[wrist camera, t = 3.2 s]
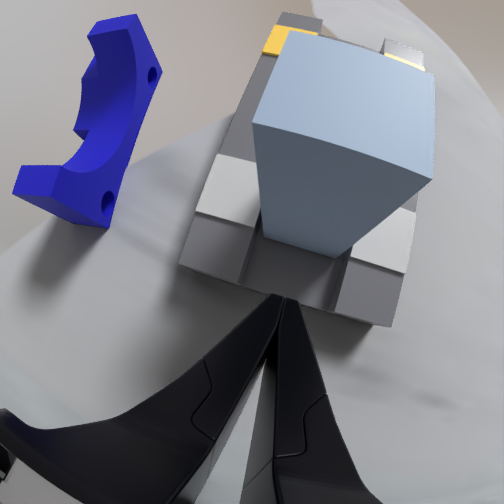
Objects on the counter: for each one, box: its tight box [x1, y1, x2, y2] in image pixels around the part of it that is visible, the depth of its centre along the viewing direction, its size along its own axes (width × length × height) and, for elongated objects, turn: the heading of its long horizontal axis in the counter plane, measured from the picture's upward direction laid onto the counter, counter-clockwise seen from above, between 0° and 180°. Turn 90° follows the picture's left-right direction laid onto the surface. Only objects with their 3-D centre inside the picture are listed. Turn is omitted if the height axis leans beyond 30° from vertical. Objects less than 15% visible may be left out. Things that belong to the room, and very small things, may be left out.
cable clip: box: [12, 14, 163, 228], centre depth 15 cm, size 12×4×6 cm, turn 170°
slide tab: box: [252, 30, 435, 259], centre depth 10 cm, size 3×4×10 cm
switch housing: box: [178, 12, 425, 327], centre depth 16 cm, size 18×10×3 cm, turn 162°
